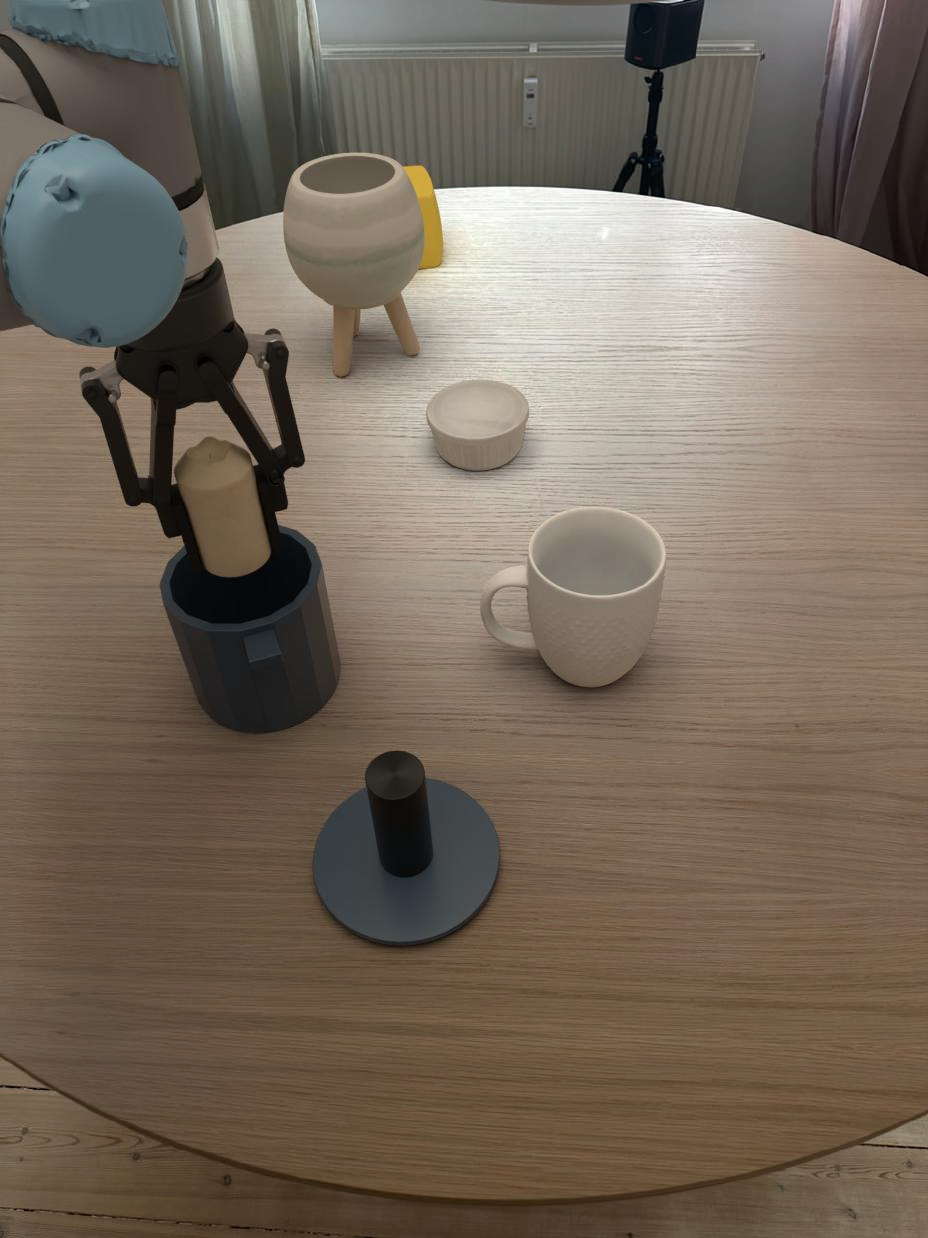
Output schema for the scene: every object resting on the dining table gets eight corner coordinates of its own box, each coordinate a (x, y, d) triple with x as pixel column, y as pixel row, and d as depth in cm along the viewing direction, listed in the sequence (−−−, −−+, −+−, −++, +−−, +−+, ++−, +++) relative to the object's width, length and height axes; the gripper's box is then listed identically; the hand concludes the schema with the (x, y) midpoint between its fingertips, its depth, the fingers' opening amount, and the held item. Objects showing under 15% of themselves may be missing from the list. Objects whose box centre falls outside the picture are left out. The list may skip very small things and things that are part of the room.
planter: (332, 316, 131) (307, 141, 115) (447, 329, 128) (438, 150, 112) (285, 380, 121) (250, 197, 105) (409, 396, 117) (393, 209, 101)
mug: (480, 707, 84) (476, 597, 74) (483, 615, 91) (480, 505, 82) (657, 708, 83) (675, 598, 73) (645, 615, 90) (660, 504, 81)
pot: (214, 776, 79) (177, 675, 71) (182, 627, 91) (147, 524, 83) (364, 731, 82) (346, 628, 73) (314, 592, 94) (293, 489, 85)
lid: (341, 977, 67) (318, 896, 59) (296, 816, 77) (271, 727, 69) (528, 911, 70) (530, 826, 62) (463, 764, 79) (458, 673, 71)
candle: (199, 582, 74) (166, 476, 67) (202, 535, 78) (170, 430, 71) (272, 573, 75) (247, 466, 68) (271, 526, 78) (247, 421, 71)
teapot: (453, 281, 137) (449, 196, 129) (365, 290, 136) (355, 205, 128) (434, 220, 151) (429, 140, 143) (353, 229, 150) (344, 148, 142)
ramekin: (446, 487, 105) (444, 447, 101) (416, 431, 112) (412, 391, 108) (544, 464, 107) (545, 423, 103) (507, 410, 114) (507, 370, 111)
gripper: (294, 214, 64) (339, 495, 81) (-2, 268, 60) (109, 551, 77) (322, 263, 59) (364, 551, 76) (0, 325, 55) (119, 615, 72)
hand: (235, 551), depth 76 cm, fingers closed on candle, 5 cm apart
